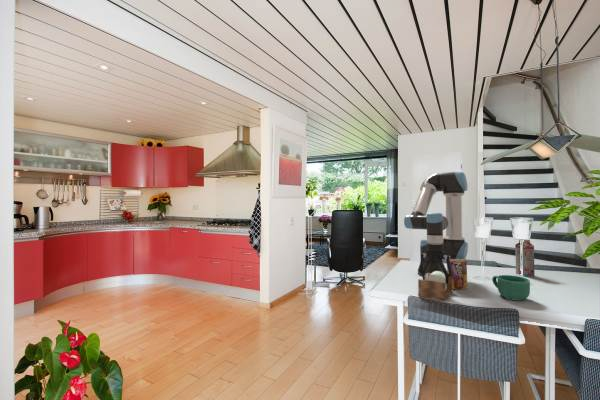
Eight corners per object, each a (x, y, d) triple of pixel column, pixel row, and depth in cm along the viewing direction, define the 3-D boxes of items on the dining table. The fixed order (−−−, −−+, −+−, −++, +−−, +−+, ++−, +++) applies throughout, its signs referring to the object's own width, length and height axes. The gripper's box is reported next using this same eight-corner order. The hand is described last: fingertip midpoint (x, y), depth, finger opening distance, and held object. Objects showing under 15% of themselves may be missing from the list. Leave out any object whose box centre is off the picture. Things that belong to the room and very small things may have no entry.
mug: (537, 301, 135) (536, 280, 135) (514, 303, 133) (514, 282, 133) (505, 290, 152) (505, 272, 152) (484, 292, 149) (484, 274, 149)
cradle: (418, 296, 144) (418, 279, 144) (427, 287, 159) (427, 272, 159) (444, 300, 137) (444, 283, 137) (452, 291, 151) (452, 275, 151)
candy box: (463, 287, 159) (462, 258, 159) (467, 289, 155) (467, 260, 155) (446, 287, 159) (446, 259, 159) (451, 289, 155) (450, 260, 155)
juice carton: (534, 276, 180) (533, 240, 181) (523, 276, 180) (523, 240, 181) (526, 273, 187) (525, 239, 187) (515, 273, 187) (515, 239, 187)
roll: (430, 285, 155) (430, 270, 155) (447, 287, 150) (446, 271, 151) (424, 291, 145) (423, 274, 146) (441, 293, 141) (441, 276, 141)
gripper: (411, 242, 151) (412, 286, 151) (456, 245, 139) (457, 293, 138) (415, 241, 157) (416, 283, 157) (459, 244, 145) (460, 290, 144)
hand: (435, 288), depth 148 cm, fingers open, 8 cm apart
